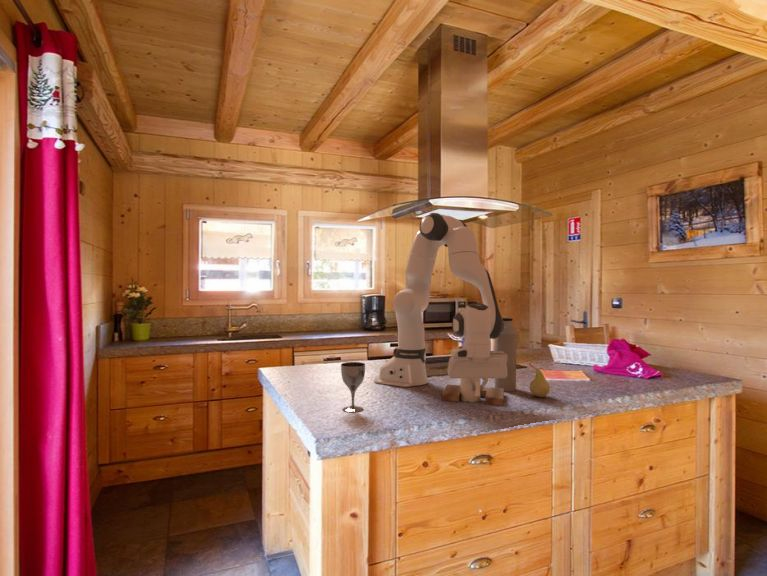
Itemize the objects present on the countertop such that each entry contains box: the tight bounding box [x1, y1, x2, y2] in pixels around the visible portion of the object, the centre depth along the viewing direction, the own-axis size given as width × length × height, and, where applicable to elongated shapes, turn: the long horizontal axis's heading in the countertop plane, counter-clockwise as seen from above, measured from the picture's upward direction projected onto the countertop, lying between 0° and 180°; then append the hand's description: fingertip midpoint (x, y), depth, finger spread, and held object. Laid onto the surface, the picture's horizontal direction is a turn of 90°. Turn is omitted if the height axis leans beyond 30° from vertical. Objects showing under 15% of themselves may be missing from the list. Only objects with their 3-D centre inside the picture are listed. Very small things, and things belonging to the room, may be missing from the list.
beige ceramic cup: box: [460, 378, 482, 403], centre depth 156 cm, size 11×7×9 cm, turn 10°
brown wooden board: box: [441, 384, 505, 406], centre depth 160 cm, size 21×14×2 cm, turn 74°
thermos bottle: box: [494, 317, 518, 393], centre depth 173 cm, size 8×8×28 cm
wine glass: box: [340, 361, 366, 414], centre depth 145 cm, size 8×8×15 cm
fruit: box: [528, 363, 551, 398], centre depth 162 cm, size 7×8×12 cm
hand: (477, 390), depth 152 cm, fingers closed on beige ceramic cup
